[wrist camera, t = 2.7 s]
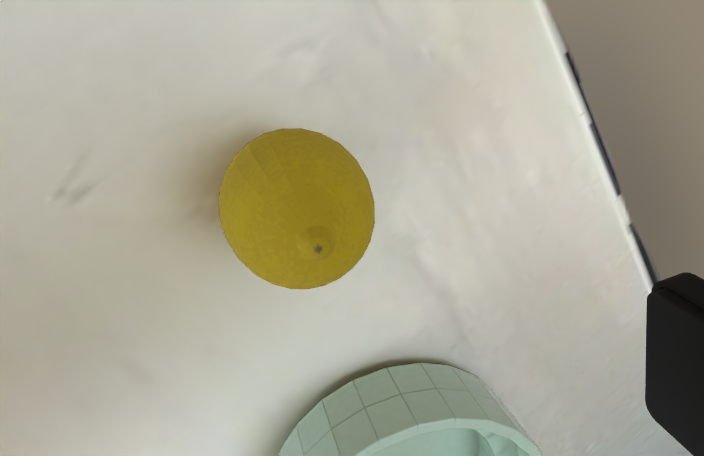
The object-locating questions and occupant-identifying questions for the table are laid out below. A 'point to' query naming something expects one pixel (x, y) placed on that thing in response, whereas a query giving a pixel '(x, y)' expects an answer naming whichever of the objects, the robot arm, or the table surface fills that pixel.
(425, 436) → the bowl
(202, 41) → the table surface
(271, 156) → the lemon
